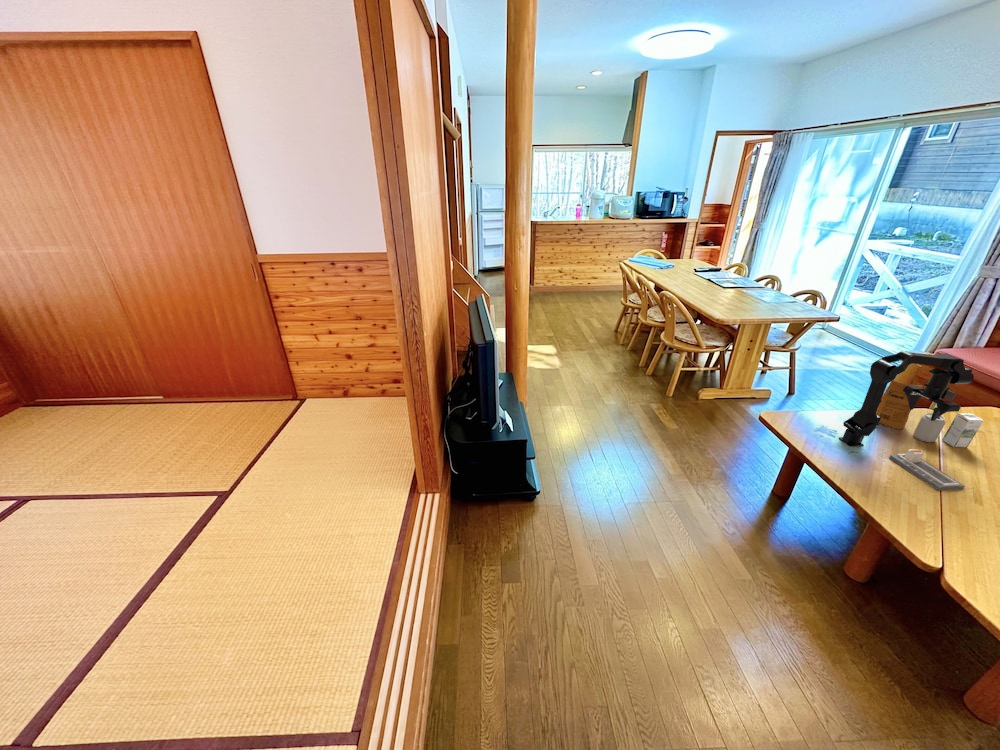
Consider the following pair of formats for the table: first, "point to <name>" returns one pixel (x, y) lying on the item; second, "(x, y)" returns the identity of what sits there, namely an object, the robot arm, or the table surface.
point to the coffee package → (894, 406)
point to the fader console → (928, 473)
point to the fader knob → (914, 455)
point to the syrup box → (962, 430)
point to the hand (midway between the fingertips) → (921, 415)
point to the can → (929, 428)
